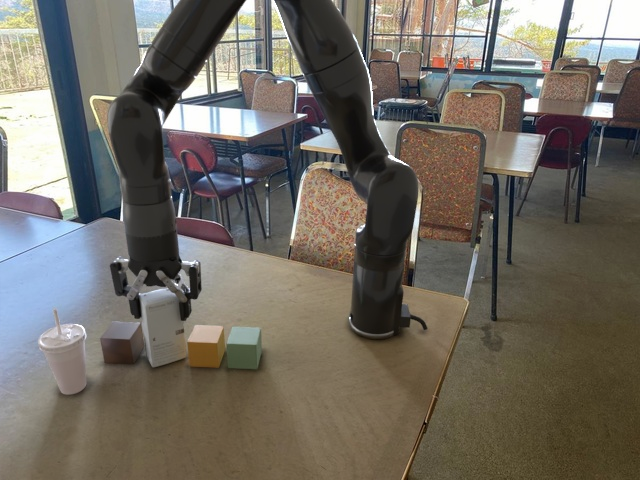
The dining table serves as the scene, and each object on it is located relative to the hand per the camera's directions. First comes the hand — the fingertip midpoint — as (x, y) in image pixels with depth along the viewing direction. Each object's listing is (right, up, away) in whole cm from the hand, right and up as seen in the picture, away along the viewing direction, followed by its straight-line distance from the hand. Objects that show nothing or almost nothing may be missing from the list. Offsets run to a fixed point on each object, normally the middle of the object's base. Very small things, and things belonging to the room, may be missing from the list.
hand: (162, 317), depth 80 cm
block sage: (+13, -8, +3) cm, 16 cm away
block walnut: (-8, -7, +3) cm, 11 cm away
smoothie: (-13, -10, -4) cm, 17 cm away
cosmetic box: (0, -7, +3) cm, 8 cm away
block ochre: (+7, -8, +3) cm, 11 cm away
